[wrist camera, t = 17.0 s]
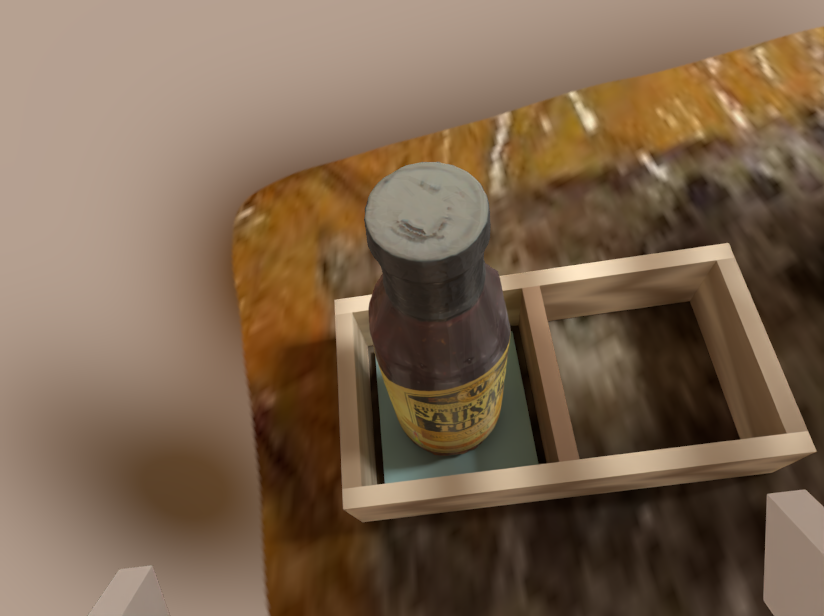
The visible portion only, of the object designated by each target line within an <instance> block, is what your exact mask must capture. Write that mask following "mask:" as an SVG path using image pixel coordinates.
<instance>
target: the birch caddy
mask: <svg viewBox="0 0 824 616" xmlns="http://www.w3.org/2000/svg"><path fill="white" fill-rule="evenodd" d="M499 277H500V281H501V285H502V290H503V295H504V300H505V305H506V310H507V314H508V319H509V324H510V326H516V325H519V330H520V335H521V340H522V345H523V350H524V355H525V360H526V365H527V369H528V374H529V379H530V384H531V389H532V394H533V399H534V404H535V409H536V414H537V419H538V423H539V428H540V433H541V438H542V443H543V448H544V453H545V458H546V463H547V464H538V459H537V454H536V449H535V444H534V439H533V433H532V428H531V423H530V418H529V413H528V408H527V403H526V398H525V393H524V388H523V383H522V378H521V373H520V368H519V362H518V357H517V352H516V347H515V342H514V337H513V332H512V331H511V332H510V343H509V352H508V356H507V365H506V374H505V380H504V389H503V397H502V405H501V411H500V415H499V418H498V421H497V423H496V425H495V427H494V429H493V430H492V432H491V433H490V434H489V435H488V436H487V438H485V440H484V441H483V442H482V443H481V444H480V445H478V447H477V448H475V449H472V450H469V451H468V452H466V453H464V454H458V455H450V456H439V455H434V454H433V453H431V452H428V451H426V450H424V449H422V448H421V447H419V446H418V445H416V444H414V443H413V441H412V440H411V439H410V438H409V437H408V436H407V434H406V433H405V432H404V430H403V429H402V427H401V425H400V423H399V420H398V418H397V416H396V413H395V410H394V407H393V404H392V402H391V399H390V397H389V394H388V391H387V389H386V386H385V383H384V380H383V377H382V374H381V371H380V368H379V365H378V362H377V359H376V371H377V385H378V398H379V412H380V426H381V439H382V453H383V466H384V480H385V484H378V485H377V474H376V460H375V445H374V430H373V415H372V400H371V386H370V371H369V356H368V346H373V345H374V344H373V341H372V337H371V335H370V329H369V310H368V308H369V302H370V299H371V297H372V295H366V296H359V297H352V298H345V299H338V300H335V322H336V347H337V372H338V397H339V421H340V446H341V471H342V496H343V510H345V511H346V512H348V513H349V514H351V515H352V516H354V517H355V518H357V519H358V520H360V521H361V522H369V521H377V520H386V519H394V518H402V517H410V516H419V515H427V514H435V513H444V512H452V511H460V510H468V509H477V508H485V507H493V506H501V505H510V504H518V503H526V502H535V501H543V500H551V499H559V498H568V497H576V496H584V495H593V494H601V493H609V492H617V491H626V490H634V489H642V488H651V487H659V486H667V485H675V484H684V483H692V482H700V481H709V480H717V479H725V478H733V477H742V476H750V475H758V474H767V473H773V472H775V471H777V470H779V469H781V468H783V467H785V466H787V465H789V464H792V463H794V462H796V461H798V460H800V459H802V458H804V457H806V456H808V455H810V454H813V453H815V452H817V451H816V449H815V446H814V444H813V442H812V439H811V437H810V434H809V432H808V430H807V427H806V425H805V423H804V420H803V418H802V416H801V413H800V411H799V408H798V406H797V404H796V401H795V399H794V397H793V394H792V392H791V390H790V387H789V385H788V382H787V380H786V378H785V375H784V373H783V371H782V368H781V366H780V363H779V361H778V359H777V356H776V354H775V352H774V349H773V347H772V345H771V342H770V340H769V337H768V335H767V333H766V330H765V328H764V326H763V323H762V321H761V318H760V316H759V314H758V311H757V309H756V307H755V304H754V302H753V300H752V297H751V295H750V292H749V290H748V288H747V285H746V283H745V281H744V278H743V276H742V274H741V271H740V269H739V266H738V264H737V262H736V259H735V257H734V255H733V252H732V250H731V247H730V245H729V243H724V244H717V245H710V246H704V247H697V248H690V249H683V250H676V251H669V252H662V253H655V254H648V255H642V256H635V257H628V258H621V259H614V260H607V261H600V262H593V263H586V264H580V265H573V266H566V267H559V268H552V269H545V270H538V271H531V272H524V273H518V274H511V275H504V276H499ZM688 301H690V303H691V305H692V308H693V311H694V314H695V316H696V319H697V322H698V325H699V327H700V330H701V333H702V336H703V338H704V341H705V344H706V347H707V349H708V352H709V355H710V357H711V360H712V363H713V366H714V368H715V371H716V374H717V377H718V379H719V382H720V385H721V388H722V390H723V393H724V396H725V399H726V401H727V404H728V407H729V410H730V412H731V415H732V418H733V421H734V423H735V426H736V429H737V432H738V434H739V437H740V440H732V441H723V442H715V443H707V444H699V445H691V446H683V447H675V448H667V449H659V450H651V451H643V452H635V453H627V454H619V455H611V456H603V457H595V458H587V459H579V455H578V451H577V446H576V442H575V438H574V433H573V429H572V425H571V420H570V416H569V412H568V407H567V403H566V399H565V394H564V390H563V386H562V381H561V377H560V373H559V368H558V364H557V360H556V355H555V351H554V347H553V342H552V338H551V334H550V329H549V325H548V321H552V320H559V319H566V318H573V317H580V316H587V315H595V314H602V313H609V312H616V311H623V310H630V309H638V308H645V307H652V306H659V305H666V304H673V303H680V302H688ZM375 358H376V356H375Z"/></svg>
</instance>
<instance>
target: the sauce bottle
mask: <svg viewBox="0 0 824 616" xmlns="http://www.w3.org/2000/svg"><path fill="white" fill-rule="evenodd" d="M364 221H365V228H366V235H367V242H368V247H369V249H370V251H371V253H372V255H373V256H374V258H375V259H376V260H377V261H378V262H379V264H380V266H381V268H382V272H383V274H382V275H381V277H380V279H379V280H378V281H377V283H376V285H375V287H374V290H373V294H372V297H371V299H370V302H369V308H368V310H369V329H370V335H371V337H372V341H373V344H374V352H375V356H376V359H377V362H378V365H379V368H380V371H381V374H382V377H383V380H384V383H385V386H386V389H387V391H388V394H389V397H390V399H391V402H392V404H393V407H394V410H395V413H396V416H397V418H398V420H399V423H400V425H401V427H402V429H403V430H404V432H405V433H406V434H407V436H408V437H409V438H410V439H411V440H412V441H413V443H414V444H416V445H418V446H419V447H421V448H422V449H424V450H426V451H428V452H431V453H433V454H434V455H439V456H450V455H458V454H464V453H466V452H468V451H469V450H472V449H475V448H477V447H478V445H480V444H481V443H482V442H483V441H484V440H485V438H487V436H488V435H489V434H490V433H491V432H492V430H493V429H494V427H495V425H496V423H497V421H498V418H499V415H500V411H501V405H502V397H503V389H504V380H505V374H506V365H507V356H508V352H509V343H510V332H511V329H510V324H509V319H508V314H507V310H506V305H505V300H504V295H503V290H502V285H501V281H500V277H499V274H498V271H497V270H495V269H493V268H491V267H490V266H489V265H487V264H486V263H485V262H484V250H485V248H486V247H487V245H488V242H489V239H490V211H489V202H488V198H487V195H486V194H485V192H484V190H483V188H482V186H481V184H480V183H479V182H478V181H477V180H476V179H475V178H474V177H473V176H472V175H470V174H469V173H468V172H466V171H464V170H462V169H460V168H457V167H455V166H453V165H449V164H443V163H440V162H421V163H416V164H411V165H407V166H404V167H402V168H400V169H398V170H397V171H395V172H393V173H392V174H390V175H388V176H386V177H385V178H383V179H382V180H381V181H380V182H379V183H378V184H377V185H376V186H375V187H374V189H373V190H372V192H371V194H370V195H369V197H368V201H367V205H366V207H365V219H364Z"/></svg>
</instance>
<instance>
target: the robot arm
mask: <svg viewBox="0 0 824 616" xmlns="http://www.w3.org/2000/svg"><path fill="white" fill-rule="evenodd" d="M763 601H764V602H765V604H766V605H767V606H768V608H769V609H770V611H771V612H772V614H773V615H774V616H824V507H823V506H822V505H821V504H820V503H819V502H818V501H817V500H816V499H815V498H814V497H813V496H812V495H811V494H810V493H809V492H808V491H807V490H806V489H804V490H796V491H787V492H779V493H770V494H767V506H766V536H765V566H764V595H763ZM87 616H170V614H169V611H168V608H167V605H166V602H165V599H164V596H163V594H162V591H161V588H160V585H159V582H158V579H157V577H156V574H155V571H154V568H153V566H152V565H150V566H142V567H133V568H124V569H119V570H118V572H117V573H116V575H115V576H114V578H113V579H112V580H111V582H110V583H109V585H108V586H107V588H106V589H105V591H104V592H103V594H102V595H101V596H100V598H99V599H98V601H97V602H96V604H95V605H94V607H93V608H92V610H91V611H90V613H89V614H88V615H87Z"/></svg>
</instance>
